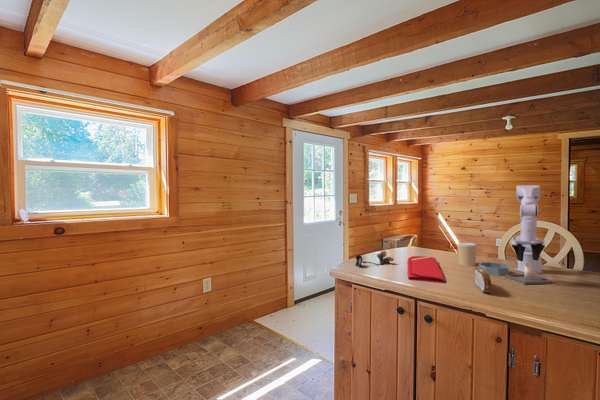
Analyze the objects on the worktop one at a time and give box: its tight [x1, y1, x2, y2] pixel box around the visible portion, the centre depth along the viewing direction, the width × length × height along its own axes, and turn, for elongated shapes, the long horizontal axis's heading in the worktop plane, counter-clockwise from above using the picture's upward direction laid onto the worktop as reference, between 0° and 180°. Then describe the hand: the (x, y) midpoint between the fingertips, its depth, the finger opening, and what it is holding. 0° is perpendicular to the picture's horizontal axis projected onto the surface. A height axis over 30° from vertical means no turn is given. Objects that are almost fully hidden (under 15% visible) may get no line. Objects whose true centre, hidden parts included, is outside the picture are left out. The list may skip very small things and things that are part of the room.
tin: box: [474, 267, 493, 294], centre depth 128 cm, size 15×3×8 cm, turn 164°
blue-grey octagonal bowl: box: [478, 261, 510, 277], centre depth 152 cm, size 12×12×4 cm
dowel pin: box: [523, 262, 532, 280], centre depth 139 cm, size 2×2×8 cm
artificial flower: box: [355, 250, 395, 268], centre depth 171 cm, size 9×22×10 cm, turn 107°
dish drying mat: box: [407, 255, 445, 284], centre depth 158 cm, size 16×41×4 cm, turn 161°
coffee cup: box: [457, 242, 478, 267], centre depth 167 cm, size 9×9×12 cm
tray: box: [504, 273, 553, 286], centre depth 139 cm, size 13×11×2 cm
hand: (527, 260), depth 139 cm, fingers open, 7 cm apart
